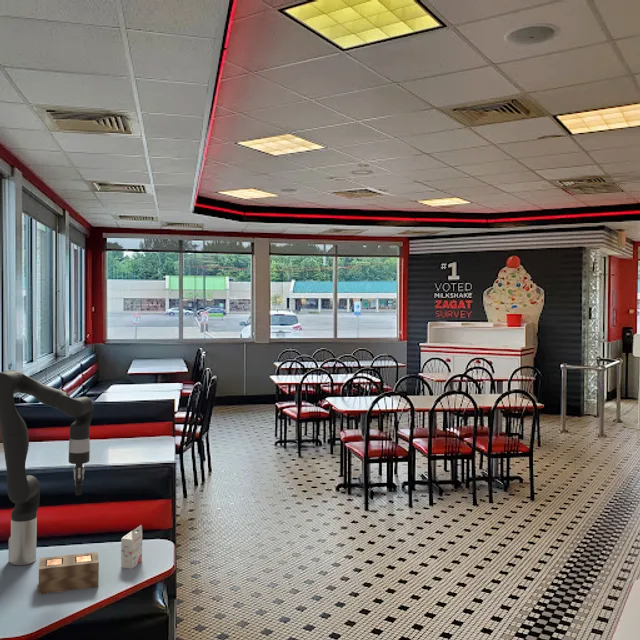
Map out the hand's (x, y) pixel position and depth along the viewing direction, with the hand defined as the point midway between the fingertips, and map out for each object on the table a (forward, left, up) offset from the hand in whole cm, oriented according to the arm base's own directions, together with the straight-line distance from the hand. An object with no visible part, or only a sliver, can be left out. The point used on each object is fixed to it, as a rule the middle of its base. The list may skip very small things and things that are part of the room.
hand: (78, 494), depth 253 cm
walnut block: (+6, -12, -29) cm, 32 cm away
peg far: (+10, -9, -29) cm, 32 cm away
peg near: (+2, -15, -29) cm, 33 cm away
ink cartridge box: (+16, +12, -29) cm, 35 cm away
